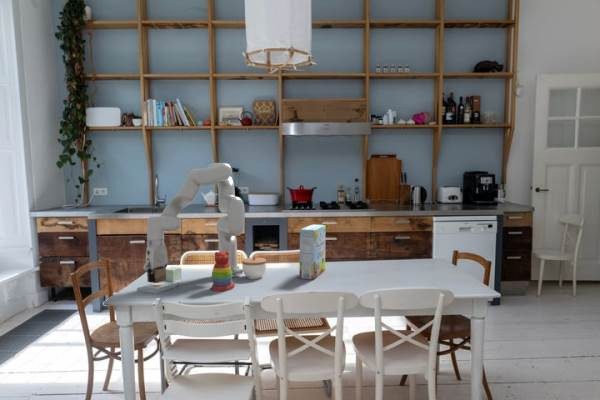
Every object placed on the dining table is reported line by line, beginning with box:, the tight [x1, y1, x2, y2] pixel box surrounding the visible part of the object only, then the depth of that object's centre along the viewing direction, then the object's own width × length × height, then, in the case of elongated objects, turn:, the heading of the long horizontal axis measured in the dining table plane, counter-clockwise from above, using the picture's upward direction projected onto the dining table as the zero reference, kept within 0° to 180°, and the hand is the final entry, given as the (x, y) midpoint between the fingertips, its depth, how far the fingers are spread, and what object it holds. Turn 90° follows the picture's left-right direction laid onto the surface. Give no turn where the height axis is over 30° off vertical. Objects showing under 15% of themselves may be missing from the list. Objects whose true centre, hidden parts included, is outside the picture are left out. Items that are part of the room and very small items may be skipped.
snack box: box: [298, 224, 327, 281], centre depth 224 cm, size 22×9×26 cm, turn 161°
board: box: [136, 281, 178, 295], centre depth 202 cm, size 12×14×1 cm
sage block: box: [164, 266, 183, 283], centre depth 217 cm, size 6×6×6 cm
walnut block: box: [146, 267, 167, 283], centre depth 201 cm, size 6×6×6 cm
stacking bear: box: [211, 251, 236, 292], centre depth 200 cm, size 11×10×18 cm
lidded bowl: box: [241, 255, 267, 280], centre depth 220 cm, size 13×13×11 cm
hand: (156, 279), depth 201 cm, fingers closed on walnut block, 6 cm apart
